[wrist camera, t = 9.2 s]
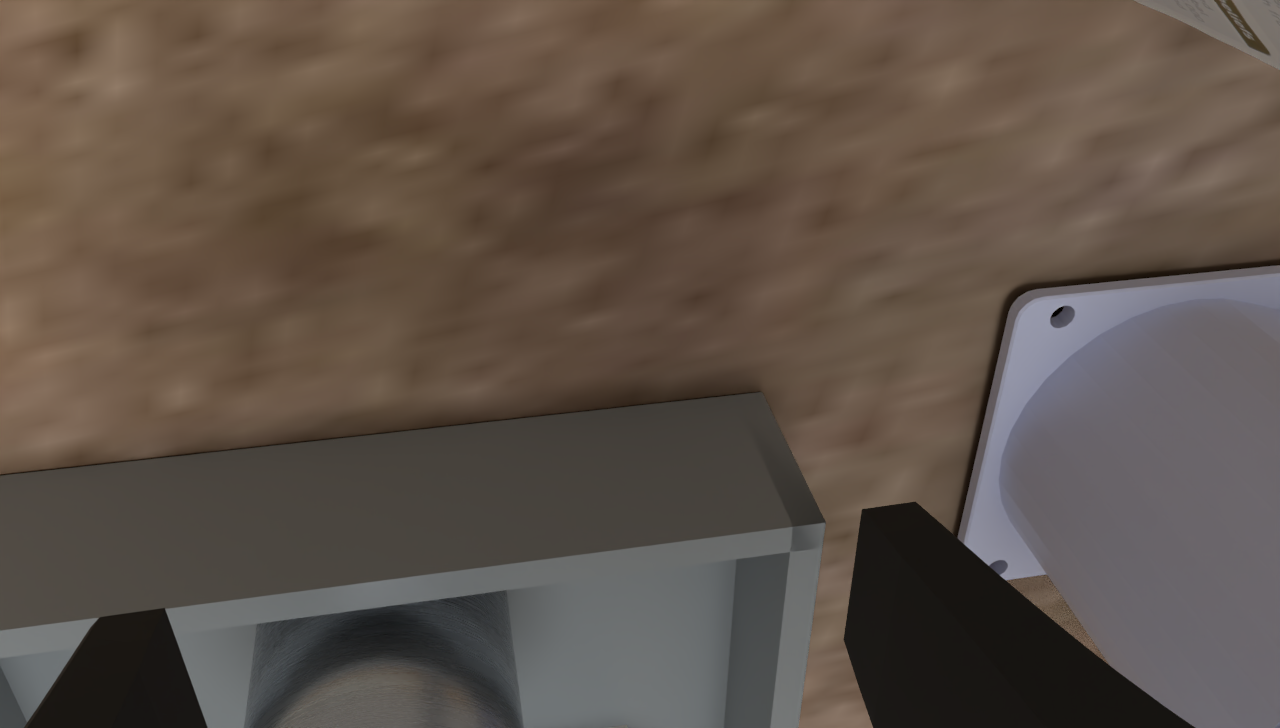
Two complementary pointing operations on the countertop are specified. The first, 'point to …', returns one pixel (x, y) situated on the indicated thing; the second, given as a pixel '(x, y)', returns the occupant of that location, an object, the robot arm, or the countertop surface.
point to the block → (620, 726)
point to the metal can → (389, 668)
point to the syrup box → (1231, 23)
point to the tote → (450, 557)
